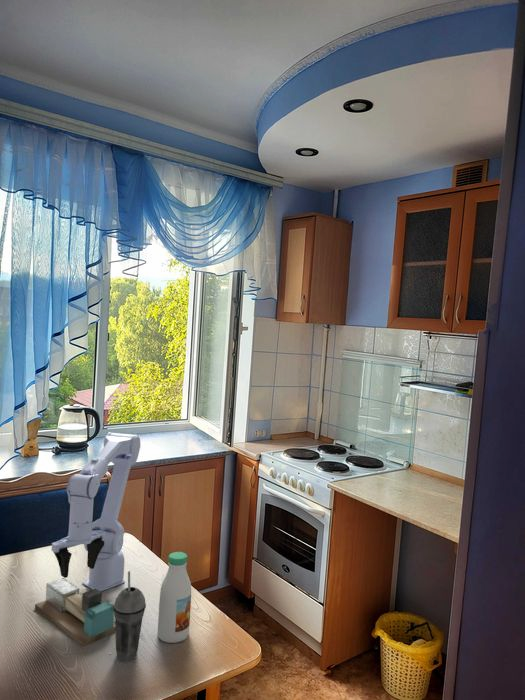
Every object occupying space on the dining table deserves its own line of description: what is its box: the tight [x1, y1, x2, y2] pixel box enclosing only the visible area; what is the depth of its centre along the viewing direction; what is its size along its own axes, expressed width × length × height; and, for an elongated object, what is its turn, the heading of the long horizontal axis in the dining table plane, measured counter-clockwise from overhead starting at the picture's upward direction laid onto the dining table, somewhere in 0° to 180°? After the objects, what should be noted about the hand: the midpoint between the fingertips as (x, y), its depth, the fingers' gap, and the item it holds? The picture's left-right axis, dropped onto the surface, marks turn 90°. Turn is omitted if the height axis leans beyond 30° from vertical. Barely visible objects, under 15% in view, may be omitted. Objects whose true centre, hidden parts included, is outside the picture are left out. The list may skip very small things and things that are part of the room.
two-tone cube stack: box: [64, 588, 103, 622], centre depth 130 cm, size 4×14×7 cm, turn 50°
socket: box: [84, 600, 115, 638], centre depth 126 cm, size 6×3×6 cm, turn 140°
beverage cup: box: [113, 570, 147, 663], centre depth 119 cm, size 7×7×20 cm
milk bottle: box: [157, 551, 192, 644], centre depth 128 cm, size 8×8×20 cm
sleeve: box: [45, 577, 80, 613], centre depth 137 cm, size 5×8×5 cm, turn 50°
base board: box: [34, 599, 116, 647], centre depth 133 cm, size 10×23×1 cm, turn 50°
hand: (77, 571), depth 136 cm, fingers open, 7 cm apart
